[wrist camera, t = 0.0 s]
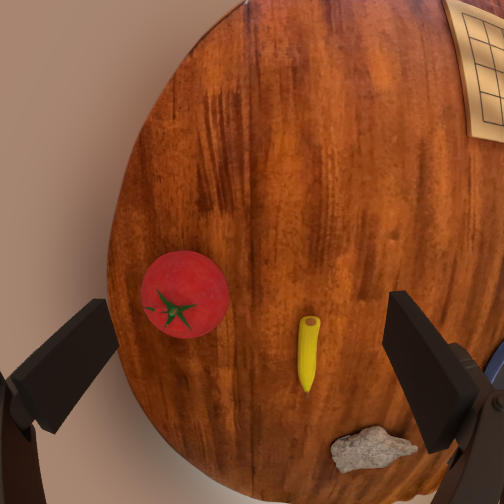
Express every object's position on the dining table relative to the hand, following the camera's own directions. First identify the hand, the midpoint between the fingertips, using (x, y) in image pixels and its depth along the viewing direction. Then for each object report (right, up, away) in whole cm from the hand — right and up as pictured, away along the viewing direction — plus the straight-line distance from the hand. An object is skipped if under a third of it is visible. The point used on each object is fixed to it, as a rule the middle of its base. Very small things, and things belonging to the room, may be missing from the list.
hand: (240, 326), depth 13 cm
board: (+32, +25, +8) cm, 41 cm away
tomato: (-6, 0, +19) cm, 20 cm away
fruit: (+7, -7, +21) cm, 23 cm away
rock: (+20, -29, +27) cm, 44 cm away
